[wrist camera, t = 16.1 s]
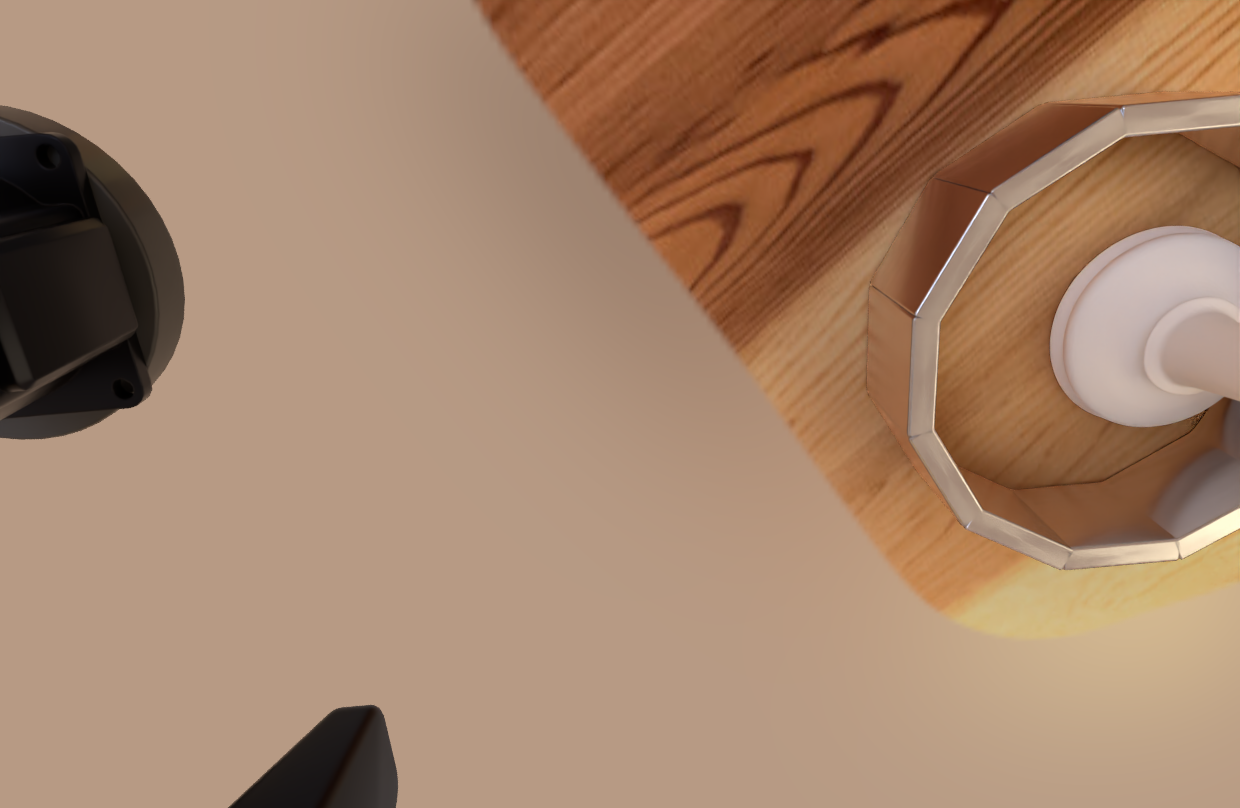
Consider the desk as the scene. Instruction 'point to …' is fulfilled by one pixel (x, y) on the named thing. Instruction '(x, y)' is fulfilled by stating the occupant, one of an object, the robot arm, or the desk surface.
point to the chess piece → (1152, 328)
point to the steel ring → (933, 276)
